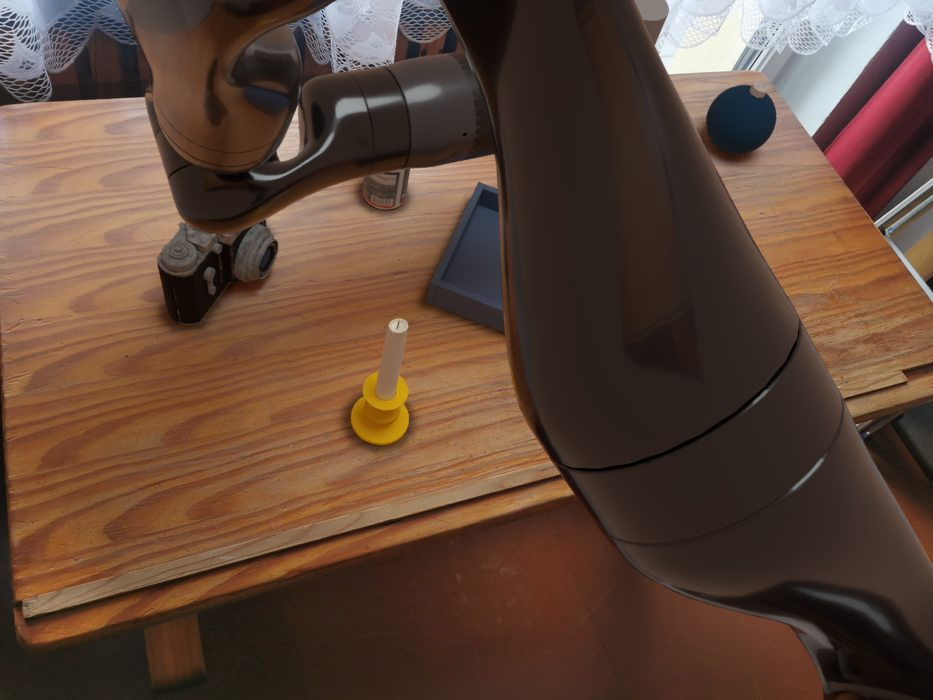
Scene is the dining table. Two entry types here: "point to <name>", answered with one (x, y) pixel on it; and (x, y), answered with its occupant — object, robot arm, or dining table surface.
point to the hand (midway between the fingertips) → (633, 77)
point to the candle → (384, 394)
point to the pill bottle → (386, 189)
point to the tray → (473, 264)
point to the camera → (211, 267)
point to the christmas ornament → (741, 118)
